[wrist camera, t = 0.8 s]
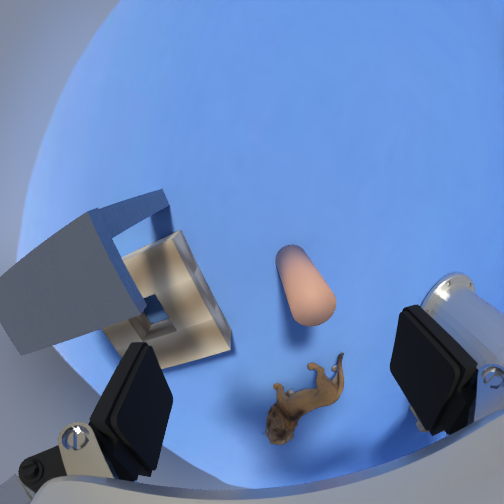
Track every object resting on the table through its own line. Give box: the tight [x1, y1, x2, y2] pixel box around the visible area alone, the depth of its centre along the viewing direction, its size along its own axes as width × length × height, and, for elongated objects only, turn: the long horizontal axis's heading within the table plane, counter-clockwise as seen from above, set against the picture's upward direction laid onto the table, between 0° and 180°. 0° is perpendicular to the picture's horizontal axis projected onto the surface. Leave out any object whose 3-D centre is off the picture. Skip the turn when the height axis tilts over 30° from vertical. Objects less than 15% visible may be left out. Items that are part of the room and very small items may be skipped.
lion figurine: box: [265, 353, 344, 445], centre depth 32 cm, size 15×5×9 cm, turn 135°
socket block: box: [102, 230, 232, 369], centre depth 30 cm, size 14×14×4 cm
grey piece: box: [0, 189, 169, 355], centre depth 22 cm, size 6×15×16 cm, turn 112°
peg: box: [276, 245, 336, 326], centre depth 26 cm, size 4×4×11 cm
